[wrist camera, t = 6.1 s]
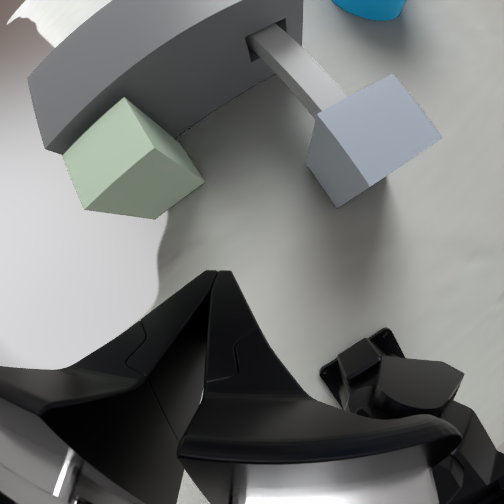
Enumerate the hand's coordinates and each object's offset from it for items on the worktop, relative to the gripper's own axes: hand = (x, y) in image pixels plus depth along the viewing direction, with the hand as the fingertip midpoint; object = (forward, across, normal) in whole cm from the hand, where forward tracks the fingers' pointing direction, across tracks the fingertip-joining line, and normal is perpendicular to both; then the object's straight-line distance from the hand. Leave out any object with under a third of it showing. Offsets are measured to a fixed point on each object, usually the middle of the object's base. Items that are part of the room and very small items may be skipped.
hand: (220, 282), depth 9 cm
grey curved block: (+18, +5, -8) cm, 20 cm away
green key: (+16, +9, -4) cm, 19 cm away
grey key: (+16, -4, -5) cm, 17 cm away
